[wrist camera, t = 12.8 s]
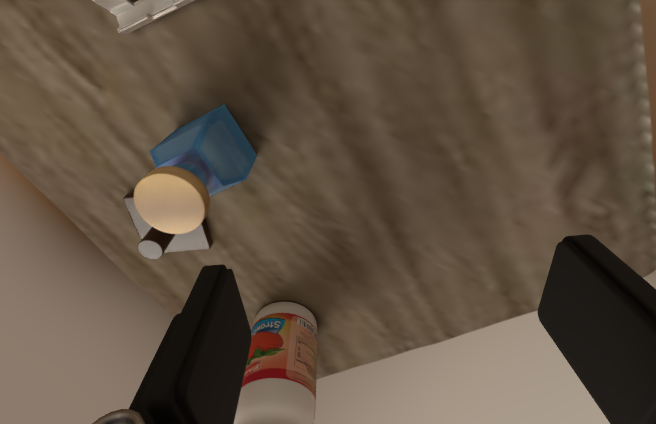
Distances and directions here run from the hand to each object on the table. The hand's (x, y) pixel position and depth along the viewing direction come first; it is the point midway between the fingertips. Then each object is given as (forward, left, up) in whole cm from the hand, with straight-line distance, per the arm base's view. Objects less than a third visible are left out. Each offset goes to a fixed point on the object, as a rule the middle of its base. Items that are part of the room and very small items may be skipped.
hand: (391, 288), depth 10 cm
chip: (+4, -14, -16) cm, 22 cm away
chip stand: (+13, -22, -28) cm, 38 cm away
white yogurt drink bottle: (+32, -11, -28) cm, 44 cm away
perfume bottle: (+4, -14, -28) cm, 32 cm away
